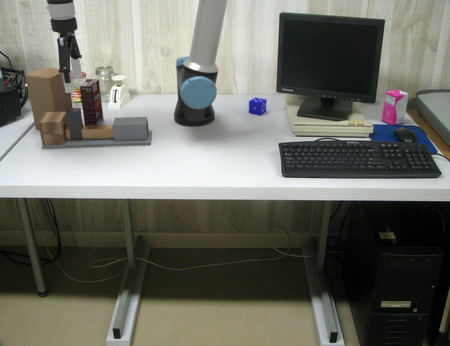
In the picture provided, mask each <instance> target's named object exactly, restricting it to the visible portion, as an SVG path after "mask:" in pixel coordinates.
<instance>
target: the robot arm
mask: <svg viewBox="0 0 450 346" xmlns="http://www.w3.org/2000/svg"><path fill="white" fill-rule="evenodd" d="M46 3H47V5H46V10H48V14H49V17H50V20H49V21H50V26H51V30H52V32H54V33H58V34H59V37H58V38H56V43H57V49H58V50H57V53H58V66H59V67H58V69H59V73H62V76H63V81H64V87H65V92H66V93H72V94H74V93H76V90H75V84H74V80H82V79H83V74H82V72H83V71H82V66H81V65H82V64H81V60H80V59H82V58H83V56H82V54H81V52H80V48H79V45H78V41H77V38H76V33H75V31H77V30H78V21H77V17H76V15H77V14H76V13H77V12H76V9H75V7H76V6H75V3H74V0H46ZM227 4H228V0H198V5H197V10H196V16H195V17H196V18H195V21H194V27H193V28H194V29H193V34H192V40H191V46H190V51H189V56H181V57H178V58H177V59H176V62H175V63H176V64H175V68H176V88H177V102H176V105H175V108H174V113H173V121H174V122H175V123H176V124H179V125H181V126H186V127H200V126H206V125H209V124H212V123H213V122H214V121H215V119H216V115H215V110H214V107H213V103H214V102H215V101H216V98H217V91H218V90H217V86H216V85H217V78H218V74H219V68H218V66H217V65H216V60H217V56H218V51H219V45H220V39H221V37H222V36H221V35H222V30H223V25H224V19H225V15H226V10H227Z"/></svg>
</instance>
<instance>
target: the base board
mask: <svg viewBox="0 0 450 346" xmlns="http://www.w3.org/2000/svg"><path fill="white" fill-rule="evenodd" d="M148 130H149V134H147V137H148V140H145V141H114V138H103V139H83V140H65V141H66V142H65V144H64V145H42V144H41V147H42V149H45V150H46V149H48V150H49V149H73V148H74V149H77V148H78V149H81V148H104V147H107V148H109V147H136V146H139V147H140V146H151V144H152V143H151V142H152V135H153V130H150V129H148Z"/></svg>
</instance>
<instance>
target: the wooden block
mask: <svg viewBox="0 0 450 346" xmlns="http://www.w3.org/2000/svg"><path fill="white" fill-rule="evenodd" d="M25 81H26V87H27V91H28V97H29V101H30V106H31V111H32V112H31V113H32V116H33V122H34V127H35V130H39V125H38V122H39V121H40V119H41V118H42V116H43V115H44V113H45V112H66V111H67V109H68V108H74V107H73V102H72V94H71V93H66V92H65V87H64V81H63V76H62V73H59V68H55V67H46V66H43V67H40V68H38V69H36V70H34V71H33V70H32V71H31V72H29V73H26V74H25Z"/></svg>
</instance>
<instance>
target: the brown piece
mask: <svg viewBox="0 0 450 346" xmlns="http://www.w3.org/2000/svg"><path fill="white" fill-rule="evenodd" d="M66 115H67V121H68V126H65V127H64V135H65V140H83V139H103V138H114V136H113V128H112V124H101V125H90V126H85V125H84V123H83V122H84V120H83V114H82V109H81V107H73V108H68V109H67V111H66Z"/></svg>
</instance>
